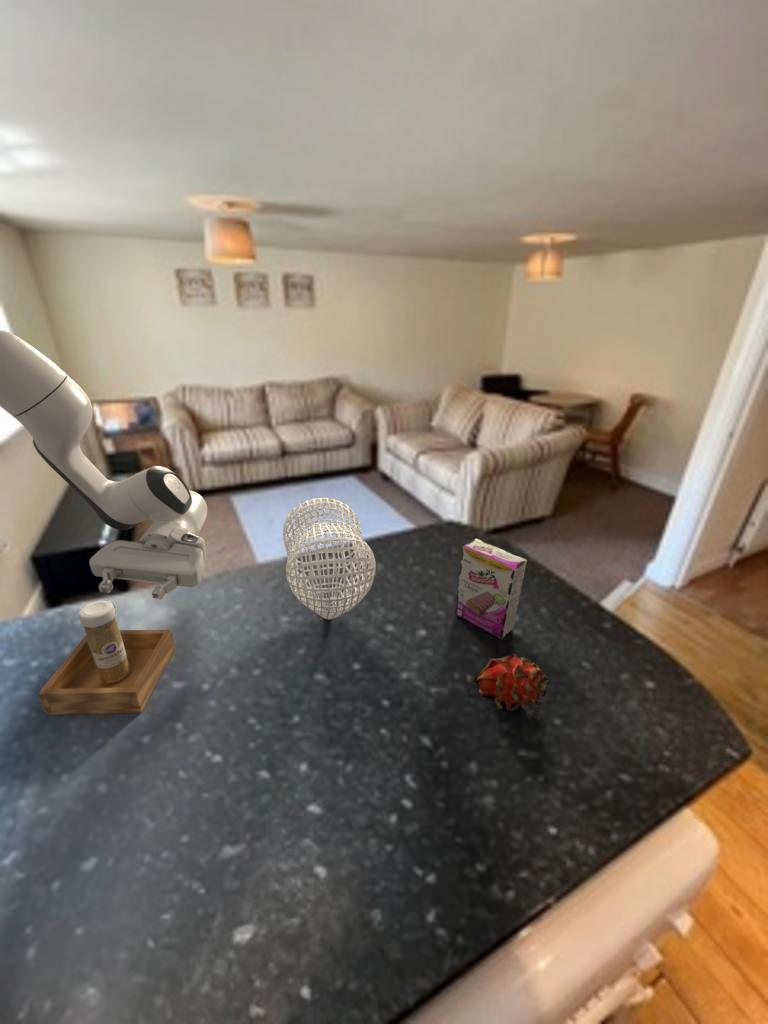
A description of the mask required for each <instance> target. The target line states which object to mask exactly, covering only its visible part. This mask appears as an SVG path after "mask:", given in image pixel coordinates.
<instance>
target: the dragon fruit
mask: <svg viewBox="0 0 768 1024" xmlns="http://www.w3.org/2000/svg"><path fill="white" fill-rule="evenodd" d="M549 681H550V680H549V679H548V677H547V675H546V674H543V670H542V669H541V668H540V667H539V666H538V664H536V663H535V662H532V663H531V661H530V659H528V658H526V657H518V655H517V654H514V653H512V654H510V655H506V656H504V657H499V658H491V659H490V660H489V661H488V663H487V664H486V665H485V667H484V668H483V669H482V670H481V671H480V672H479V674H477V675H476V676H475V677H474V678H473V680H472V681H471V682H472V683H471V684H472V685H471V686H474V685H477V687H478V693H479V694H480V695H481V696H482V697H483V698H484V699H486V700H488V701H493V704H494V706H495V709H497V710H502V709H503V706H502V704H501V703H502V702H504V703H505V708H506V711H510V712H513V711H516V710H518V708H519V707H521V708H522V710H524V711H527V712H529V711H531V710H532V705H530V706H529V708H527V703H528V702H529V703H531V704H533V705H534V706H540V705H541V704H542V702H541V701H540V698H544V697H546V694H547V686H548V685H550V682H549ZM477 687H475V690H476V688H477ZM489 695H490V696H489ZM493 698H494V699H493ZM512 705H513V706H512Z"/></svg>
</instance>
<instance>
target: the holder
mask: <svg viewBox="0 0 768 1024" xmlns="http://www.w3.org/2000/svg"><path fill="white" fill-rule="evenodd" d="M119 630H120V629H119ZM120 634H121V637H122V641H123V644H124V648H125V651H126V656H127V660H128V663H129V665H130V672H129V674H128V676H127V677H126V678H124V679H123V680H121V681H119V682H116V683H113V684H105V683H102V682H101V681H100V678H99V676H100V675H99V672H98V669H97V666H96V664H95V662H94V659H93V656H92V653H91V650H90V647H89V644H88V641H87V635H86V634H85V635H84V637H83V638H82V639H81V640H80V641H79V643H78V644H77V645H76V646H75V648H74V649H73V650H72V651H71V652H70V654H69V655H68V656H67V658H65V660H64V661H63V662H62V664H61V665H60V666H59V667H58V668H57V670H55V672H54V673H53V674H52V676H51V677H50V678H49V679H48V681H47V682H46V683H45V685H43V687H42V688H41V689H40V690H39V692H38V693H37V696H38V699H39V701H40V704H41V706H42V708H43V711H44V715H46V716H55V715H58V716H59V715H60V716H61V715H97V714H98V715H99V714H141V713H142V712H143V711H144V709H145V708H146V705H147V703H148V701H149V699H150V698H151V695H152V694H153V693H154V690H155V688H156V686H157V684H158V682H159V680H160V679H161V677H162V675H163V674H164V671H165V669H166V667H167V665H168V664H169V661H170V659H171V658H172V656H173V654H174V652H175V650H176V644H175V640H174V635H173V632H172V629H121V630H120Z"/></svg>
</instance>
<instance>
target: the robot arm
mask: <svg viewBox="0 0 768 1024" xmlns="http://www.w3.org/2000/svg"><path fill="white" fill-rule="evenodd" d="M0 407H1V409H3V410H4V411H5V412H7V413H8V414H9V415H10V416H12V417H13V418H14V419H15V420H16V421H18V422H19V424H21V425H22V426H23V427H24V429H26V431H27V432H28V433H29V434H30V436H31V437H32V445H33V448H34V449H35V450H36V452H37V454H38V455H39V456H40V457H41V459H42V460H43V461H44V462H45V463H46V464H47V465H48V466H49V467H50V468H51V469H52V470H53V471H54V472H55V473H56V474H57V475H58V476H60V478H62V479H63V480H64V482H66V483H67V484H68V485H69V486H70V487H71V488H72V489H73V490H74V491H75V492H76V493H77V494H78V495H79V496H81V498H82V499H83V500H84V501H86V502H87V504H88V505H89V506H90V507H91V508H92V510H93V511H94V513H95V514H96V516H97V517H98V518H99V520H100V521H101V522H103V523H104V524H105V525H106V526H108V527H110V528H112V529H115V530H118V531H128V530H131V529H133V528H134V527H136V526H138V525H140V524H142V523H143V522H145V521H147V520H148V521H149V520H151V524H150V526H149V527H148V528H147V530H146V531H145V532H144V533H143V535H142V536H141V537H140V538H139V540H138V541H136V540H135V541H133V540H125V539H118V540H113V541H110V542H108V543H107V544H105V545H104V546H103V547H101V548H100V549H99V550H98V551H97V552H96V553H95V554H94V555H92V556H91V557H90V559H89V567H90V570H91V572H92V574H93V576H95V577H100V578H102V581H101V582H100V583H99V584H98V590H99V592H100V593H104V594H105V593H106V594H110V593H111V592H112V590H113V589H114V584H113V581H114V580H124V581H125V580H126V581H133V582H134V581H135V582H144V583H150V584H151V583H152V584H160V585H155V587H154V589H153V590H152V591H151V595H152V598H153V599H158V600H162V599H164V597H165V596H166V594H168V593H170V592H171V591H173V590H175V589H176V588H177V587H186V588H194V587H196V586H198V585H200V583H201V582H202V579H203V577H204V574H205V571H206V568H205V565H206V564H207V548H206V543H205V540H204V538H202V537H201V536H198V534H199V533H200V531H201V530H202V528H203V526H204V524H205V521H206V519H207V516H208V515H207V514H208V505H207V501H206V500H205V499H204V497H203V496H202V495H201V494H199V493H198V492H196V491H194V490H191V489H189V488H188V486H187V484H186V482H184V481H183V479H182V478H181V477H180V476H179V475H178V474H176V472H174V471H172V469H171V470H170V469H169V468H167V467H165V466H162V465H161V466H160V465H153V466H151V467H149V468H145V469H144V470H141V471H139V472H137V473H135V474H133V475H131V476H129V477H127V478H125V479H122V480H119V481H114V480H110V479H108V478H107V477H106V476H105V475H104V474H103V473H102V472H101V471H100V470H99V469H98V468H97V467H96V466H95V465H94V464H93V462H91V460H89V458H88V457H87V456H86V455H85V454H84V453H83V451H82V449H81V441H82V439H83V437H84V436H85V435H86V433H87V431H88V430H89V428H90V426H91V423H92V421H93V414H94V413H93V412H94V411H93V404H92V401H91V399H90V398H89V396H88V394H87V393H86V392H85V391H84V390H83V389H82V387H81V386H80V385H79V384H78V383H77V382H75V380H73V378H71V377H70V376H69V375H68V374H67V373H65V372H64V371H63V370H62V369H61V368H60V367H59V366H58V365H57V364H55V363H54V362H53V361H52V360H51V359H49V358H48V357H47V356H45V355H44V354H43V353H42V352H41V351H39V350H38V349H36V348H35V347H33V346H32V345H30V344H29V342H26V341H25V340H23V339H22V338H21V337H19V336H17V335H16V334H14V333H12V332H9V331H6V330H0Z"/></svg>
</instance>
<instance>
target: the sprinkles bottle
mask: <svg viewBox="0 0 768 1024" xmlns="http://www.w3.org/2000/svg"><path fill="white" fill-rule="evenodd" d="M78 618H79V621H80V624H81V625H82V627H83V628H84V632H85V636H86V635H87V641H88V644H89V647H90V650H91V653H92V656H93V659H94V662H95V664H96V666H97V669H98V672H99V675H100V676H99V678H100V681H101V682H102V683H105V684H113V683H116V682H119V681H121V680H123V679H124V678H126V677H127V676H128V674H129V672H130V665H129V663H128V660H127V656H126V651H125V648H124V644H123V641H122V637H121V634H120V628H119V626H118V625H119V624H118V622H117V618H116V610H115V607H114V604H113V603H112V602H111V601H109V600H97V601H93V602H90V603H88V604H86V605H84V606H83V607H81V609H80V610H79V612H78Z"/></svg>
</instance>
